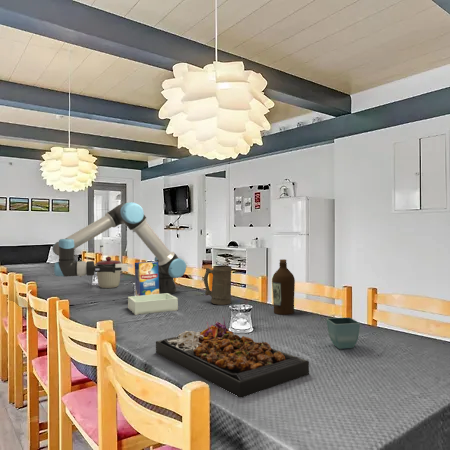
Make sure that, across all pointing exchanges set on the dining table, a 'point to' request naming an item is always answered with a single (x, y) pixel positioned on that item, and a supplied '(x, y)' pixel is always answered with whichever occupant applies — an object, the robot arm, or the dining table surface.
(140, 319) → the dining table surface
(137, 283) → the beverage box
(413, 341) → the dining table surface
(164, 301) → the box
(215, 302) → the beer stein
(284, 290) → the brown bottle
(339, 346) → the flower pot
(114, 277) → the canister
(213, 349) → the food platter
